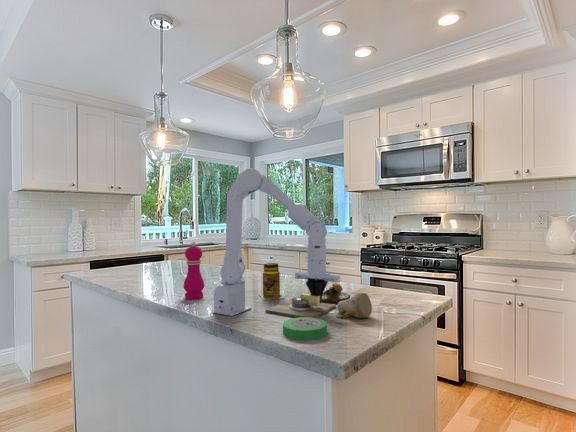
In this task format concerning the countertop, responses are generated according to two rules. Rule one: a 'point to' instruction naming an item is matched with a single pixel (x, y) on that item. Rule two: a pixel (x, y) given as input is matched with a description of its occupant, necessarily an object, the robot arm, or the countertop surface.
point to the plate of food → (335, 294)
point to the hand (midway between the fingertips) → (317, 303)
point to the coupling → (306, 300)
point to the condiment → (271, 282)
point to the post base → (300, 310)
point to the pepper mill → (193, 273)
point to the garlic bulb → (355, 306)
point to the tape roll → (305, 328)
